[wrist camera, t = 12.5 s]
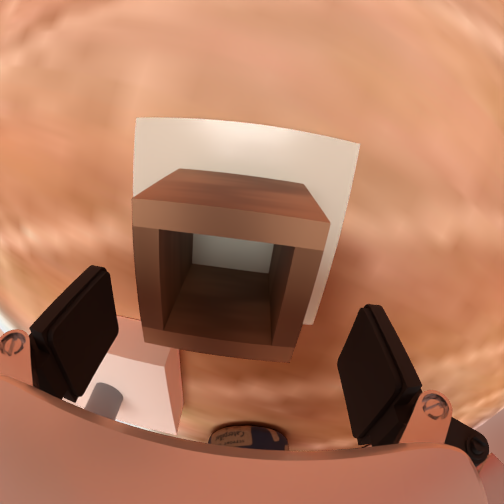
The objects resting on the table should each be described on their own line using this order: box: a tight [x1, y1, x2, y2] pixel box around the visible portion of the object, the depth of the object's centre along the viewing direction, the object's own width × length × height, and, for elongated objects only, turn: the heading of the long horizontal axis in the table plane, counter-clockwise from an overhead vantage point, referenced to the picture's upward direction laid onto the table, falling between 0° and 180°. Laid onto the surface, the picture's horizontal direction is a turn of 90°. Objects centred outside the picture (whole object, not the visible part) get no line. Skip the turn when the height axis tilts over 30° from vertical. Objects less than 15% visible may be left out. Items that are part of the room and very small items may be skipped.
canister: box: [208, 426, 289, 451], centre depth 20 cm, size 10×10×18 cm
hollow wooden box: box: [132, 168, 331, 363], centre depth 13 cm, size 7×7×6 cm
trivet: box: [133, 117, 360, 325], centre depth 16 cm, size 12×12×1 cm
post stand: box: [76, 316, 184, 435], centre depth 17 cm, size 11×11×11 cm
